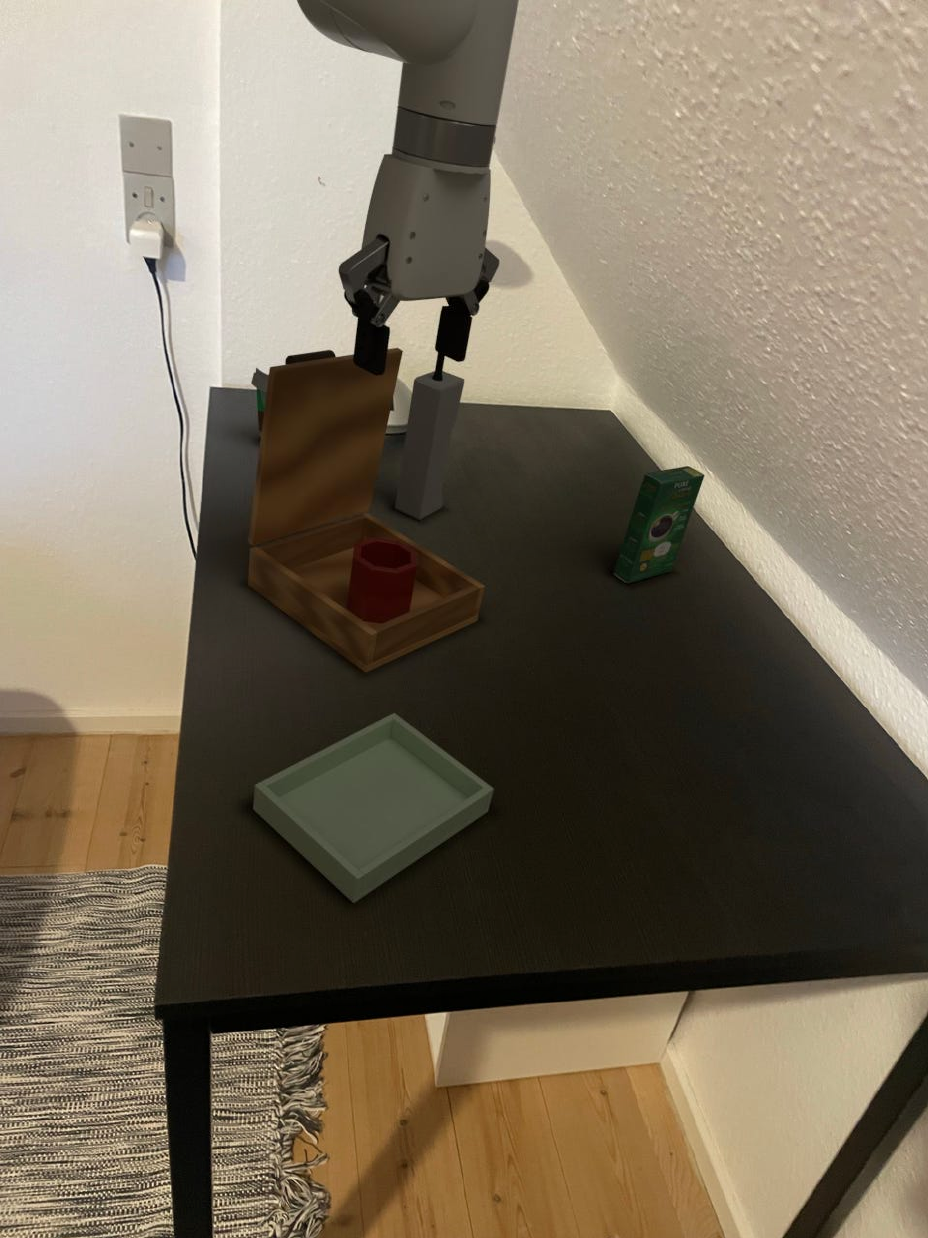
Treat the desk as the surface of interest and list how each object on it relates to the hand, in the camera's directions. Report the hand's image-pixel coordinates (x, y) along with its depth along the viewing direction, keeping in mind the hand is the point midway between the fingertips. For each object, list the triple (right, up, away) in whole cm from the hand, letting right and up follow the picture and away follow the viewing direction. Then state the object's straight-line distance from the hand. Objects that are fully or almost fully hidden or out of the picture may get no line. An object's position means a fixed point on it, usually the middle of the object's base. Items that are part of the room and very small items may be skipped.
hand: (410, 362), depth 80 cm
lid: (-9, -5, +12) cm, 16 cm away
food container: (-17, 0, +44) cm, 47 cm away
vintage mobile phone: (-1, -9, +35) cm, 36 cm away
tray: (-2, -36, -8) cm, 37 cm away
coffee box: (+26, -16, +32) cm, 44 cm away
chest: (-6, -20, +16) cm, 26 cm away
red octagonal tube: (-4, -20, +14) cm, 25 cm away
